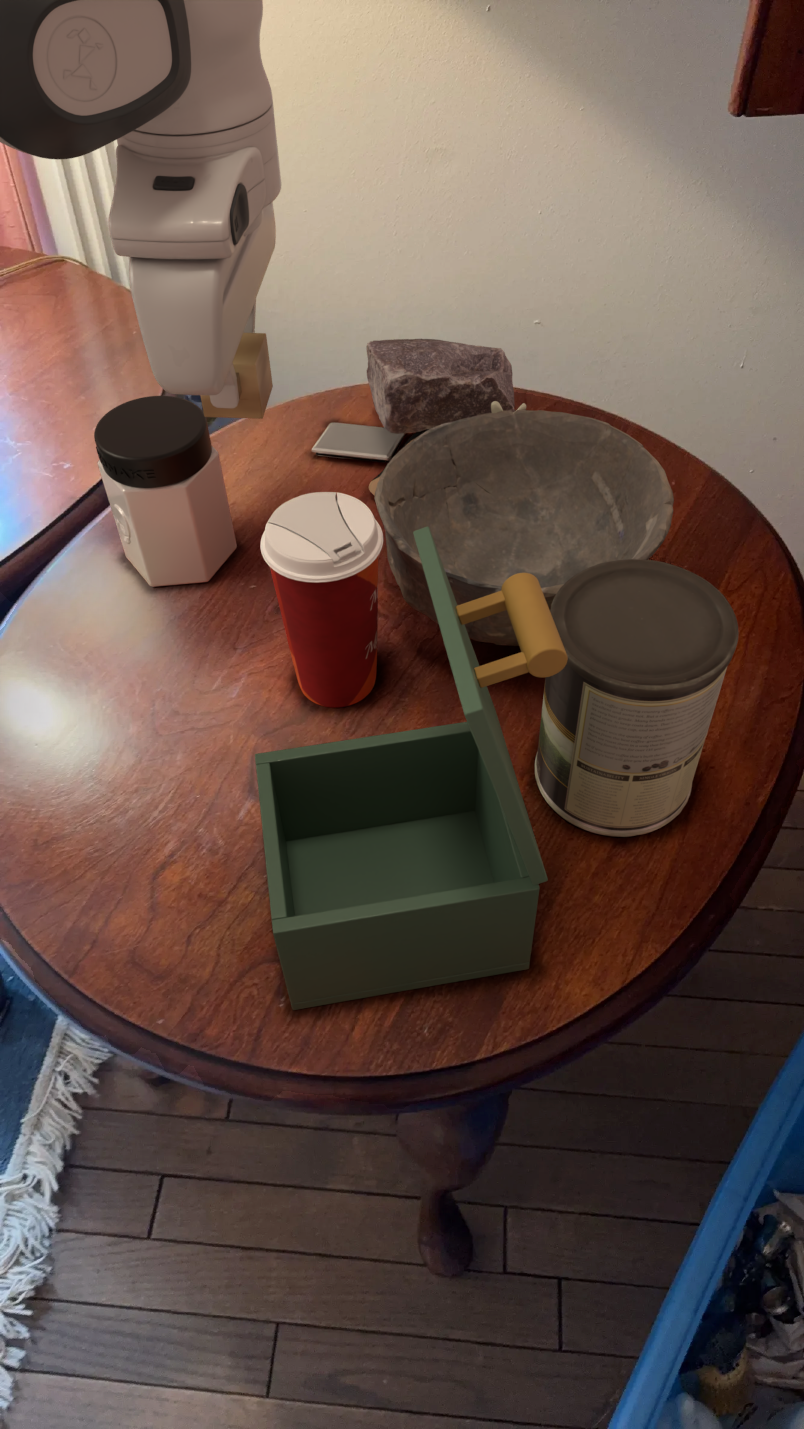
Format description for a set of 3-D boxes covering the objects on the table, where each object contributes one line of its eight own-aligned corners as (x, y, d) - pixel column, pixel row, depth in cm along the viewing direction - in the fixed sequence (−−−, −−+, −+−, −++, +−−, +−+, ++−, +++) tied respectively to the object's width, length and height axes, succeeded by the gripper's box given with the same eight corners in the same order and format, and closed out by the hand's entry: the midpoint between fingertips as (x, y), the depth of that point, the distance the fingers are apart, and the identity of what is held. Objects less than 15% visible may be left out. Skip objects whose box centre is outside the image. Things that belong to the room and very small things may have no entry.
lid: (464, 714, 41) (580, 676, 40) (412, 530, 49) (510, 496, 48) (533, 886, 52) (625, 857, 52) (482, 714, 60) (562, 688, 59)
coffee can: (501, 775, 68) (511, 621, 57) (599, 691, 73) (626, 534, 62) (627, 868, 63) (664, 719, 52) (724, 772, 68) (776, 616, 57)
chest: (292, 1011, 58) (272, 933, 51) (273, 840, 65) (254, 753, 59) (529, 969, 59) (540, 888, 52) (484, 806, 67) (488, 717, 60)
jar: (111, 545, 85) (71, 417, 76) (199, 506, 88) (171, 379, 79) (161, 605, 80) (125, 476, 71) (253, 562, 83) (229, 433, 74)
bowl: (539, 480, 88) (548, 374, 81) (711, 617, 77) (741, 510, 69) (330, 573, 81) (318, 468, 74) (486, 741, 70) (491, 636, 62)
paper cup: (412, 687, 73) (406, 532, 63) (319, 736, 71) (297, 583, 60) (352, 625, 78) (338, 470, 67) (263, 668, 75) (234, 514, 64)
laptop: (388, 446, 88) (389, 467, 90) (407, 415, 92) (408, 436, 94) (309, 438, 90) (312, 458, 92) (331, 408, 94) (333, 428, 95)
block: (263, 419, 69) (255, 364, 66) (204, 417, 69) (193, 362, 66) (273, 386, 72) (266, 332, 69) (216, 384, 72) (207, 331, 69)
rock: (527, 377, 97) (535, 256, 83) (505, 510, 92) (511, 405, 78) (381, 363, 99) (366, 241, 85) (353, 493, 94) (332, 386, 80)
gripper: (187, 94, 66) (220, 302, 76) (97, 240, 52) (152, 468, 63) (285, 95, 65) (305, 304, 76) (219, 242, 52) (254, 472, 62)
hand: (235, 380), depth 69 cm, fingers closed on block, 4 cm apart
